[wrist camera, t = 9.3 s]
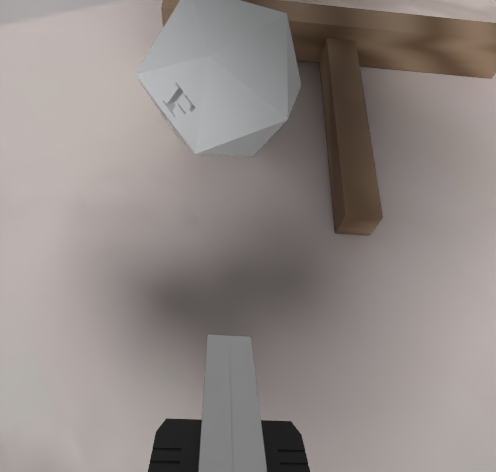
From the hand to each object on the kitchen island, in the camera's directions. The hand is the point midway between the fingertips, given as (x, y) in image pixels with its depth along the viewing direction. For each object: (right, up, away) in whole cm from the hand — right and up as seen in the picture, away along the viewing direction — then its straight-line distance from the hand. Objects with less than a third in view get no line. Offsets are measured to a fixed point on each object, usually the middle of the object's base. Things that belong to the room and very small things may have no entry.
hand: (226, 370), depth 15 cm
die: (-1, +11, +12) cm, 17 cm away
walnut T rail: (+7, +12, +13) cm, 19 cm away
